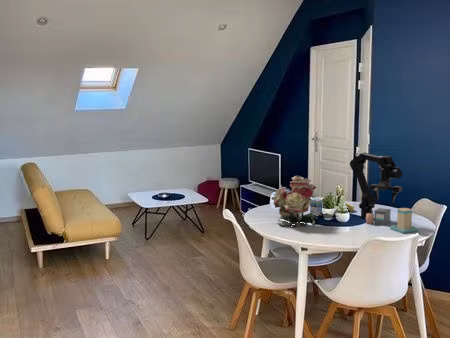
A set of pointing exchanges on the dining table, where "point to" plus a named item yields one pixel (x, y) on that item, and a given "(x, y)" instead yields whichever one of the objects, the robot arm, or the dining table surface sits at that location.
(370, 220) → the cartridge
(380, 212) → the grey box
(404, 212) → the carton
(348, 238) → the dining table surface
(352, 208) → the plastic component
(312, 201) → the light bulb box
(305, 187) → the rose bouquet
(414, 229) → the tray
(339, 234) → the dining table surface
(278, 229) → the dining table surface
